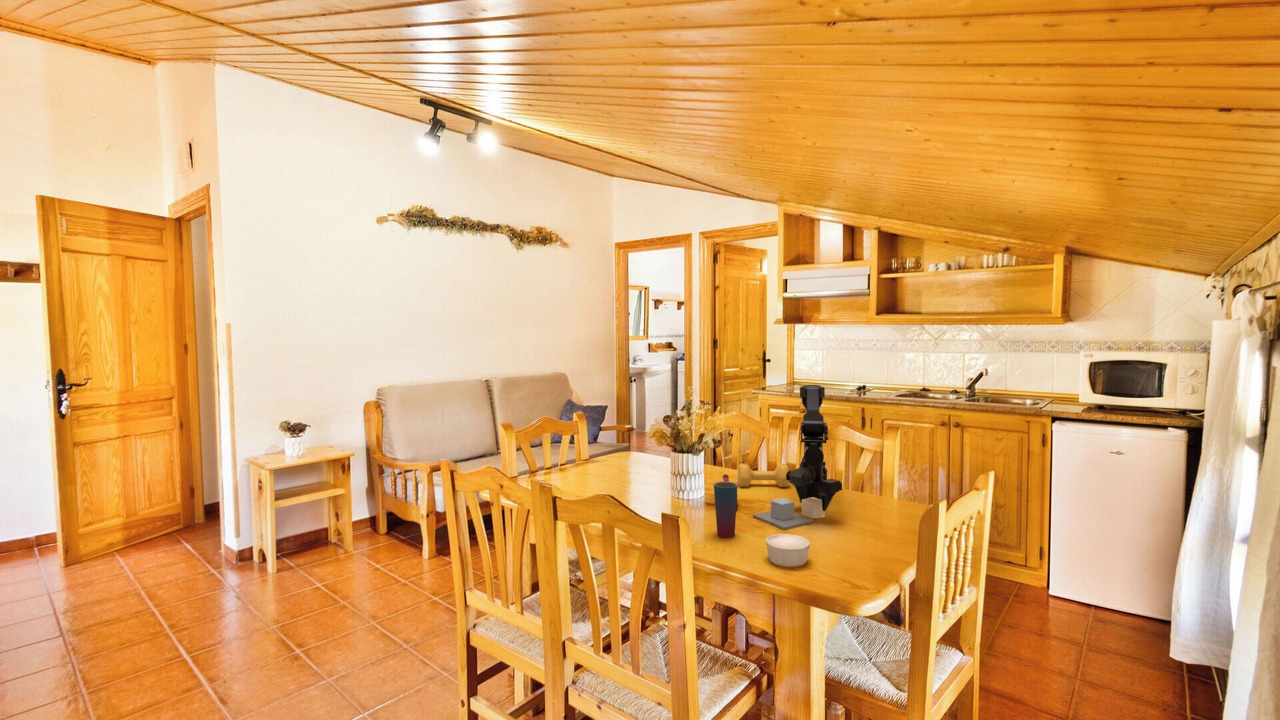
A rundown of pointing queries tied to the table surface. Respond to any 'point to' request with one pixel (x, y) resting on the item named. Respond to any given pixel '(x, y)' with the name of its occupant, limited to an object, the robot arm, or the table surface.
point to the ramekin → (787, 550)
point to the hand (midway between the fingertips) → (813, 507)
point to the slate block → (782, 509)
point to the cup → (725, 508)
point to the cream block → (812, 507)
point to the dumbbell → (762, 475)
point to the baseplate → (785, 524)
